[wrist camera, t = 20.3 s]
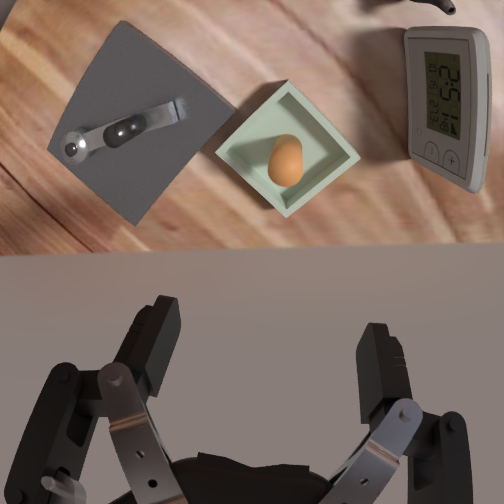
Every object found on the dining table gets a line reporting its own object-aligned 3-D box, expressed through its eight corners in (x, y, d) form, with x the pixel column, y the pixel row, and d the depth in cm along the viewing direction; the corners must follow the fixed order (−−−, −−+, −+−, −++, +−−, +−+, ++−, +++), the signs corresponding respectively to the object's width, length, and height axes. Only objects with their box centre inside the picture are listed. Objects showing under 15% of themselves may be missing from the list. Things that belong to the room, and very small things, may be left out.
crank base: (53, 145, 36) (47, 149, 35) (126, 21, 26) (120, 20, 25) (139, 221, 42) (135, 226, 41) (237, 109, 32) (235, 111, 31)
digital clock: (401, 21, 23) (442, 10, 14) (469, 45, 22) (523, 50, 14) (383, 152, 32) (412, 189, 24) (447, 167, 32) (488, 207, 23)
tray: (220, 145, 35) (214, 152, 32) (288, 79, 29) (288, 80, 27) (287, 206, 38) (286, 218, 36) (356, 150, 33) (360, 158, 30)
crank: (75, 162, 36) (44, 184, 30) (65, 134, 33) (31, 152, 28) (180, 128, 32) (156, 146, 26) (170, 92, 30) (142, 102, 24)
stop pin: (267, 147, 34) (260, 170, 27) (287, 128, 32) (285, 146, 26) (287, 166, 35) (285, 193, 28) (308, 148, 33) (310, 171, 27)
